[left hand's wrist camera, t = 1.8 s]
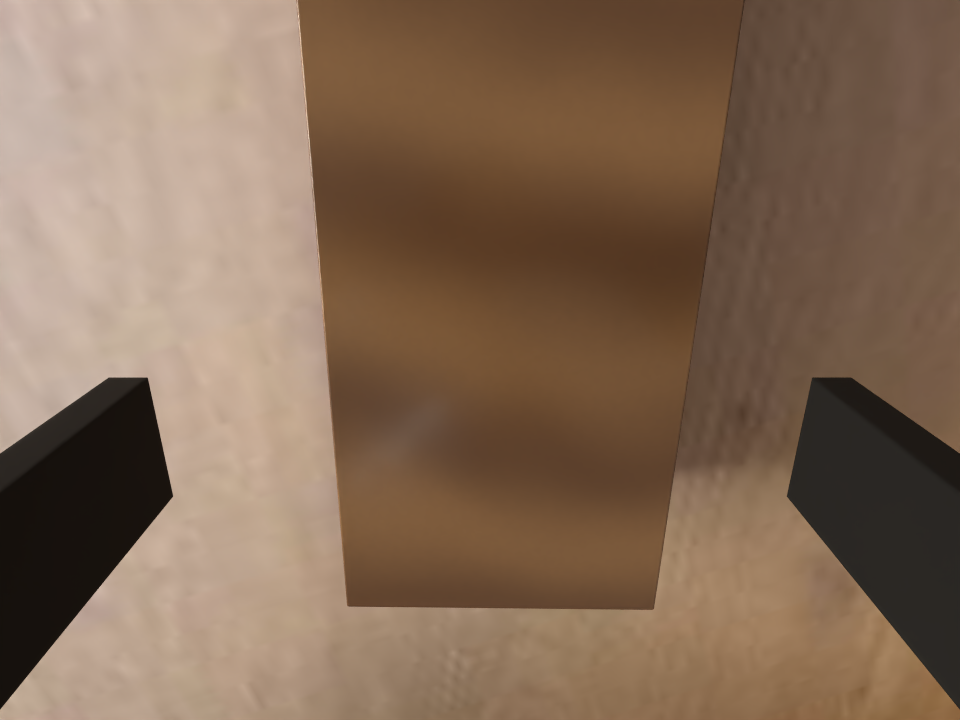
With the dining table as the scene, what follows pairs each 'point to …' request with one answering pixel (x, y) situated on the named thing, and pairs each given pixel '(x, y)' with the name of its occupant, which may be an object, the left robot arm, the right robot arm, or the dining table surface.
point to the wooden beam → (511, 284)
